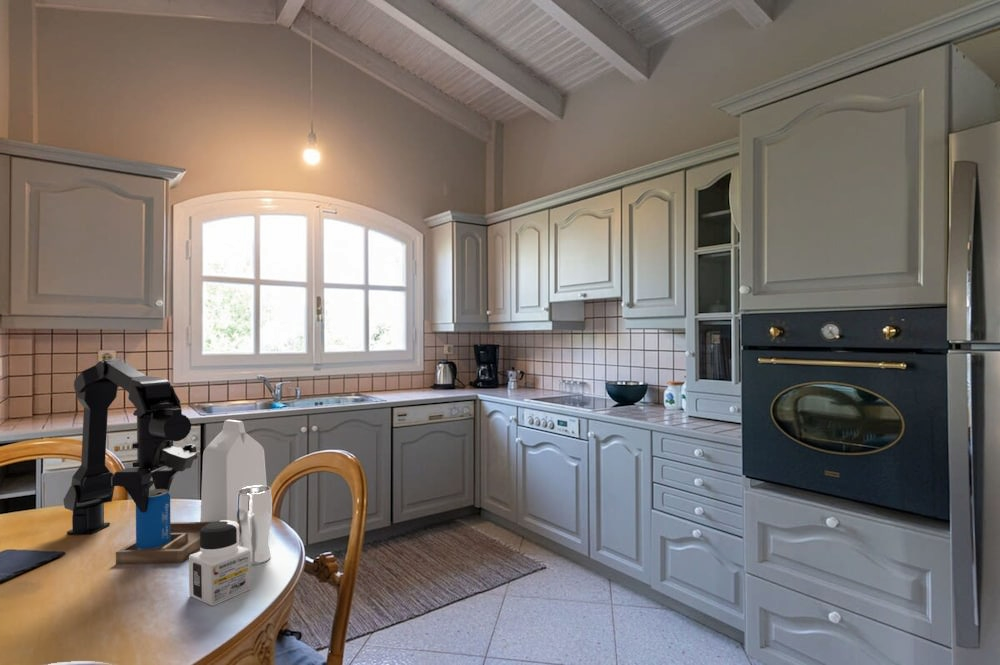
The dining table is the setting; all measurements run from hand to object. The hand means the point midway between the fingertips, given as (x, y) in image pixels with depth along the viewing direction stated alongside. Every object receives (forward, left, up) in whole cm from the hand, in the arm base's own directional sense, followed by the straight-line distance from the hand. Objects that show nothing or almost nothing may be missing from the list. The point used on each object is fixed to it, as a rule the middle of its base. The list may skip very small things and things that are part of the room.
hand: (153, 507), depth 121 cm
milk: (-21, +8, -11) cm, 25 cm away
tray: (-4, +2, -10) cm, 11 cm away
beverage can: (0, 0, -9) cm, 9 cm away
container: (+19, +24, -11) cm, 32 cm away
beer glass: (+4, +24, -11) cm, 27 cm away
